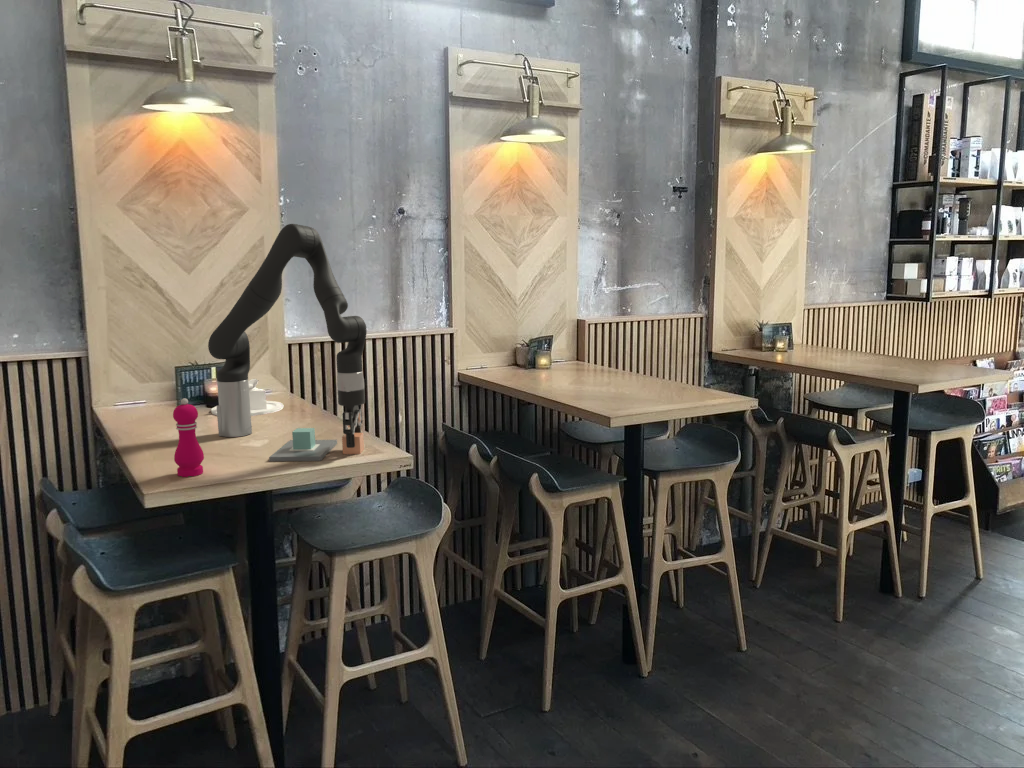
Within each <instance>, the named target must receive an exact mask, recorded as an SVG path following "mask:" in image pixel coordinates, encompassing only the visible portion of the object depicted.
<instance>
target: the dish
mask: <svg viewBox="0 0 1024 768" xmlns="http://www.w3.org/2000/svg"><path fill="white" fill-rule="evenodd" d="M248 382H249V396H250V411H251V417H255V416H261V415H266V414H272V413H276V412H279V411H281V410H283V408H285V407H284V403H282V402H280V401H275V400H267V397H266V395H267V394H266V393H267V392H266V389H261V388H258V387H257V385H258V383H259V382H260V381H259V380H258V379H257V378H252V379H248ZM217 406H218V405H216V406H214V407H212V408H210V409H211V410H210V411H211V414H212V415H214V416H217Z"/></svg>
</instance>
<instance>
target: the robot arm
mask: <svg viewBox="0 0 1024 768" xmlns="http://www.w3.org/2000/svg"><path fill="white" fill-rule="evenodd" d="M293 257H294V258H299V259H300V258H301V259H305V260H306V262H307V263H308V264H309V265H310V268H311V270H312V272H313V285H312V286H313V292H314V295H315V297H316V299H317V301H318V303H319V306H320V307H321V309H322V311H323V314H324V318H325V323H326V330H327V334H328V336H329V337H330V339H331V340H332V341H334V342H335V343H338V344H339V343H347V345H346V347H345V348H344V349H343V350H340V351H339V352H337V354H336V357H335V358H336V361H335V362H336V390H337V404H338V405H339V406H342V407H345V411H342V413H341V416H342V430H343V431H342V432H343V434H345V435H346V444H347V447H348V448H354V447H355V437H354V433H362V432H361V427H362V424H363V423H364V422H363V421H364V420H363V412H362V411H363V410H362V406H363V405H364V404H365V403H366V395H365V394H366V393H365V392H366V391H365V378H364V371H363V353H364V347H365V343H366V339H367V332H368V331H367V324H366V322H365V319H364V318H362V316H359V315H350V316H349V315H348V316H341V315H342V314H344V313H345V312H346V311H347V310H348V307H349V303H348V301H347V299H346V298H345V295H344V293H343V292H342V290H341V288H340V285H339V284H338V282H337V280H336V278H335V275H334V273H333V271H332V267H331V264H330V261H329V258H328V255H327V253H326V249H325V246H324V243H323V240H322V238H321V236H320V233H319V232H318V231H317V230H316V229H315V228H314V227H310V226H307V225H302V224H297V223H289V224H286V225H284V227H282V228H281V230H280V231H279V233H278V234H277V236H276V238H275V240H274V242H273V244H272V245H271V248H270V250H269V252H268V253H267V255H266V257H265V259H264V260H263V262H262V264H261V265H260V267H259V268H258V270H257V271H256V273H255V275H254V276H253V277H252V278H251V280H250V281H249V282H248V284H247V286H246V287H245V289H244V290H243V292H242V293H241V295H240V297H239V298H238V299H237V300H236V302H235V304H234V305H233V307H231V310H230V311H229V313H228V314H227V315H226V317H225V318H224V319H223V320H222V321H221V322H220V324H219V325H218V326H217V327H215V329H214V331H213V332H212V333H211V335H210V336H209V338H208V343H207V344H208V345H207V347H208V348H207V349H208V351H209V354H210V355H211V356H212V357H213V358H215V359H217V360H225V363H224V364H223V366H222V367H221V368H220V369H219V370H218V371H217V372H216V383H217V384H216V385H217V395H218V396H217V397H218V398H217V399H218V405H216V406H217V415H216V417H217V430H218V437H226V438H235V437H245V436H248V435H251V434H253V428H252V427H253V426H252V416H251V411H250V396H249V382H248V381H249V373H250V371H251V370H250V369H251V350H250V349H251V347H250V346H251V345H250V341H249V340H250V339H249V336H248V334H247V333H246V330H248V329H249V328H250V327H251V326H252V325H254V324H255V323H256V322H257V321H259V320H261V318H263V317H264V316H266V314H267V313H268V312H269V311H271V310H272V307H273V306H274V305H275V303H276V302H277V301H278V300H279V297H280V296H281V294H282V290H283V288H282V287H283V278H282V277H283V272H284V269H285V268H286V267H287V265H288V263H290V261H291V260H292V258H293Z"/></svg>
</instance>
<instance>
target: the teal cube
mask: <svg viewBox="0 0 1024 768" xmlns="http://www.w3.org/2000/svg"><path fill="white" fill-rule="evenodd" d="M315 430H316V429H315V428H314V427H302V428H301V427H298V428H295V429H294V430H293V431H292V434H291V435H292V440H293V449H312V448H313V447H314V446H315V440H316V432H315Z"/></svg>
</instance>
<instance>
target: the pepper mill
mask: <svg viewBox="0 0 1024 768" xmlns="http://www.w3.org/2000/svg"><path fill="white" fill-rule="evenodd" d="M180 403H181V404H179V405H178V406H176V407H175V408H174V409H173V413H172V416H173V419H174V421H175V422H176V424H175V427H176V428H175V429H176V430H177V432H178V443H177V447H176V449H175V452H174V464H176V465H177V466H178V467H177V469H176V470H177V471H176V472H177V476H178V477H180V476H182V477H181V478H189V477H188V476H192V477H198V476H200V475H202V474H203V473H204V467H203V465H202V462H203V461H204V459H205V456H204V455H205V453H204V451H203V449H202V447H201V445H200V443H199V442H198V438H197V436H196V434H197V433H196V429H197V428H198V426H197V422H196V420H197V418H198V417H199V412H198V409H197V407H196V406H194V404H189V399H188V398H184V397H183V398H182V399H181V400H180Z"/></svg>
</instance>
